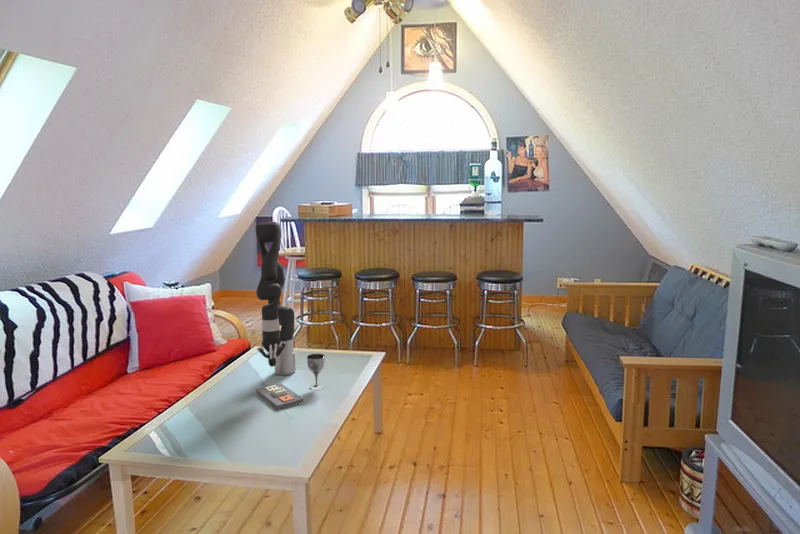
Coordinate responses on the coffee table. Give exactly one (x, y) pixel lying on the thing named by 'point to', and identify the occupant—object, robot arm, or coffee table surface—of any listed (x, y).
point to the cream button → (270, 388)
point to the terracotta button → (286, 398)
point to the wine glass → (316, 364)
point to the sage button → (279, 392)
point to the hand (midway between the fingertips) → (272, 365)
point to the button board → (275, 400)
